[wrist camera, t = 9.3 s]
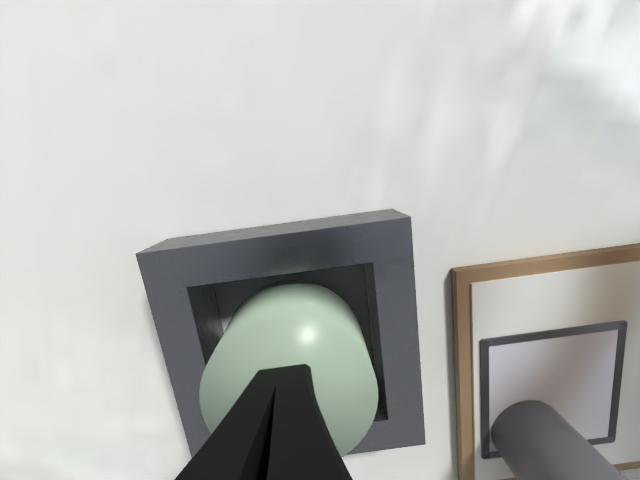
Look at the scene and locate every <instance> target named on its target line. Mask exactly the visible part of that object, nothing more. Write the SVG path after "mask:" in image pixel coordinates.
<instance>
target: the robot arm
mask: <svg viewBox="0 0 640 480" xmlns="http://www.w3.org/2000/svg"><path fill="white" fill-rule="evenodd" d="M175 480H352V478H351V476H350V474H349V472H348V470H347V468H346V466H345V464H344V462H343V460H342V458H341V456H340V454H339V452H338V450H337V448H336V446H335V444H334V442H333V439H332V437H331V435H330V433H329V430H328V428H327V426H326V423H325V421H324V418H323V416H322V413H321V411H320V408H319V405H318V402H317V399H316V396H315V392H314V386H313V379H312V373H311V367H310V366H308V365H307V364H299V365H292V366H285V367H277V368H270V369H262V370H259V371H258V372H257V373H256V374H255V376H254V377H253V378H252V380H251V381H250V382H249V384H248V385H247V387H246V388H245V389H244V391H243V392H242V394H241V395H240V397H239V398H238V399H237V401H236V402H235V403H234V405H233V406H232V408H231V409H230V410H229V412H228V413H227V414H226V416H225V417H224V418H223V420H222V421H221V422H220V424H219V425H218V426H217V428H216V429H215V430H214V432H213V433H212V434H211V436H210V437H209V438H208V439H207V441H206V442H205V443H204V445H203V446H202V447H201V448H200V449H199V451H198V452H197V453H196V454H195V456H194V457H193V458H192V459H191V460H190V462H189V463H188V464H187V465H186V466H185V468H184V469H183V470H182V471H181V473H180V474H179V475H178V476H177V477H176V479H175Z"/></svg>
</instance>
